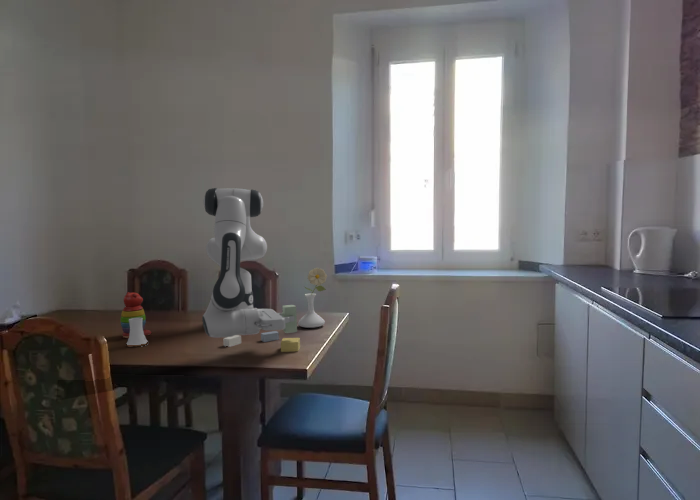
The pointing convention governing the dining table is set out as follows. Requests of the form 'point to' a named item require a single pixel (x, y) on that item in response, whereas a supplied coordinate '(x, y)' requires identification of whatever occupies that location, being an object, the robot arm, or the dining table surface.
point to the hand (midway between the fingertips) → (292, 317)
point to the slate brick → (269, 336)
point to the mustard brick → (290, 344)
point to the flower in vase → (311, 317)
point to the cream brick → (232, 340)
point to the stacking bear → (132, 312)
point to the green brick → (290, 311)
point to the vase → (136, 332)
